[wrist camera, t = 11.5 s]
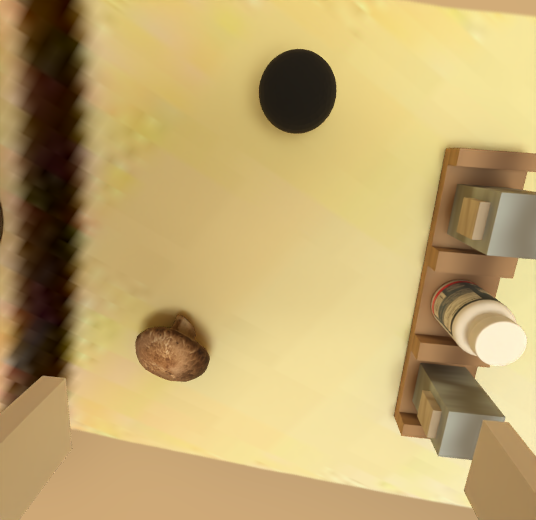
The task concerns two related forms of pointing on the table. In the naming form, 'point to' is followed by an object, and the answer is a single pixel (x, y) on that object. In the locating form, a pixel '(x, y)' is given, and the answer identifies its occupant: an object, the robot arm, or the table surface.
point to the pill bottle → (478, 323)
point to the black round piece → (297, 91)
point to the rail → (470, 269)
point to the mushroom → (172, 351)
